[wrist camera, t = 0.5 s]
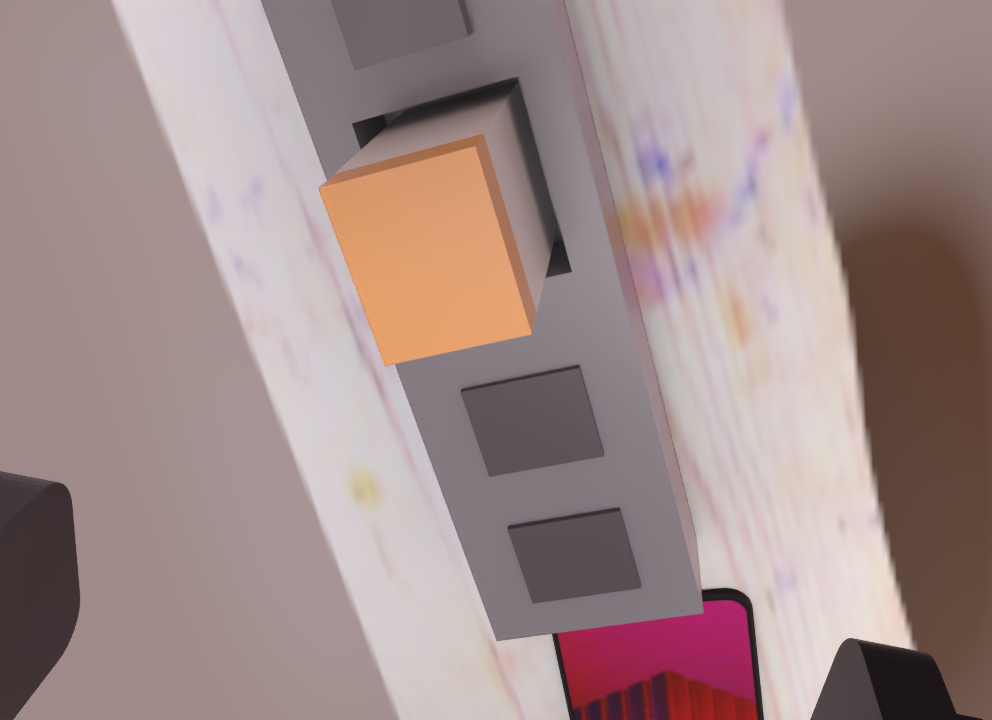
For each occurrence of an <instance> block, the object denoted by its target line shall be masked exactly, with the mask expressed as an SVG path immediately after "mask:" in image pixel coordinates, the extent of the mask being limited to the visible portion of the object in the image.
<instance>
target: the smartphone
mask: <svg viewBox="0 0 992 720" xmlns="http://www.w3.org/2000/svg"><path fill="white" fill-rule="evenodd" d="M702 600H703V610H704V613H702V614H695V615H687V616H680V617H672V618H665V619H658V620H650V621H643V622H635V623H628V624H620V625H613V626H606V627H598V628H591V629H583V630H576V631H568V632H561V633H553V634H552V636H553V641H554V646H555V650H556V655H557V660H558V665H559V669H560V674H561V679H562V684H563V688H564V693H565V698H566V703H567V707H568V712H569V717H570V720H764V716H763V706H762V696H761V686H760V676H759V666H758V657H757V647H756V637H755V627H754V617H753V608H752V604H751V601H750V600H749V598H748V597H747V596H746V595H745V594H743V593H742V592H740V591H738V590H734V589H728V588H722V589H711V590H704V591H702Z"/></svg>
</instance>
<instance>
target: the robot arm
mask: <svg viewBox="0 0 992 720" xmlns="http://www.w3.org/2000/svg"><path fill="white" fill-rule="evenodd" d="M79 606H80V589H79V579H78V566H77V554H76V544H75V531H74V520H73V508H72V500H71V496H70V492H69V490H68V489H67V487H66V486H65V485H64V484H61V483H58V482H53V481H48V480H43V479H38V478H32V477H27V476H22V475H17V474H11V473H6V472H1V471H0V720H13V719H14V718H15V717H16V715H17V714H18V713H19V711H20V710H21V709H22V707H23V706H24V705H25V704H26V702H27V701H28V700H29V698H30V697H31V695H32V694H33V693H34V692H35V690H36V689H37V688H38V686H39V685H40V684H41V683H42V681H43V680H44V679H45V677H46V676H47V675H48V673H49V672H50V671H51V669H52V668H53V667H54V666H55V664H56V663H57V662H58V660H59V659H60V658H61V656H62V655H63V653H64V651H65V649H66V648H67V646H68V644H69V642H70V639H71V637H72V634H73V632H74V629H75V626H76V622H77V618H78V614H79V608H80V607H79ZM810 720H982V719H980V718H974V717H969V716H964V715H959V714H957V713H956V711H955V709H954V706H953V703H952V701H951V698H950V696H949V694H948V691H947V689H946V686H945V683H944V681H943V678H942V676H941V673H940V671H939V669H938V666H937V664H936V662H935V660H934V659H933V658H932V657H931V656H930V655H929V654H928V653H925V652H920V651H915V650H910V649H905V648H900V647H895V646H889V645H884V644H879V643H874V642H869V641H864V640H858V639H853V638H848V639H846V640H845V641H844V642H843V643H842V644H841V646H840V647H839V649H838V651H837V654H836V656H835V658H834V661H833V664H832V666H831V669H830V671H829V674H828V676H827V679H826V681H825V684H824V686H823V689H822V692H821V694H820V697H819V699H818V702H817V704H816V707H815V709H814V712H813V714H812V717H811V719H810Z"/></svg>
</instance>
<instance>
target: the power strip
mask: <svg viewBox="0 0 992 720" xmlns="http://www.w3.org/2000/svg"><path fill="white" fill-rule="evenodd" d="M261 2H262V5H263V8H264V10H265V13H266V16H267V18H268V21H269V24H270V27H271V29H272V32H273V35H274V37H275V40H276V43H277V46H278V48H279V51H280V54H281V56H282V59H283V62H284V65H285V67H286V70H287V73H288V75H289V78H290V81H291V84H292V86H293V89H294V92H295V94H296V97H297V100H298V103H299V105H300V108H301V111H302V113H303V116H304V119H305V122H306V124H307V127H308V130H309V132H310V135H311V138H312V141H313V143H314V146H315V149H316V151H317V154H318V157H319V160H320V162H321V165H322V168H323V170H324V173H325V176H326V179H327V180H328V179H329V178H330V177H331V176H332V175H334V174H335V173H336V172H337V171H338V170H339V169H340V168H341V167H342V166H344V165H345V164H346V163H347V162H348V161H349V160H350V159H351V158H352V157H354V156H355V155H356V154H357V153H358V152H359V151H360V150H361V149H362V148H363V147H365V146H366V145H367V144H368V143H369V142H370V141H371V140H372V139H373V138H375V137H376V136H377V135H378V134H379V133H380V132H381V131H382V130H383V129H385V128H386V127H387V126H388V125H389V124H390V123H391V122H392V121H393V120H394V119H396V118H397V117H398V116H399V115H400V114H402V113H406V112H409V111H413V110H416V109H420V108H423V107H427V106H430V105H434V104H438V103H441V102H445V101H448V100H452V99H455V98H459V97H462V96H466V95H469V94H473V93H476V92H480V91H484V90H487V89H491V88H494V87H498V86H501V85H505V84H508V83H512V82H515V81H518V82H519V86H520V89H521V93H522V97H523V100H524V104H525V107H526V111H527V115H528V118H529V122H530V126H531V129H532V133H533V137H534V140H535V144H536V148H537V151H538V155H539V159H540V162H541V166H542V169H543V173H544V177H545V180H546V184H547V188H548V191H549V195H550V199H551V202H552V206H553V210H554V213H555V217H556V221H557V224H558V227H557V231H556V235H555V240H554V244H553V248H552V252H551V256H550V260H549V265H548V269H547V273H546V277H545V281H544V285H543V290H542V294H541V298H540V302H539V306H538V310H537V315H536V319H535V323H534V327H533V331H532V334H531V335H526V336H522V337H517V338H512V339H508V340H503V341H499V342H494V343H489V344H485V345H480V346H475V347H471V348H466V349H461V350H457V351H452V352H447V353H443V354H438V355H433V356H429V357H424V358H419V359H415V360H410V361H405V362H401V363H396V364H395V366H396V368H397V371H398V374H399V377H400V379H401V382H402V385H403V387H404V390H405V393H406V396H407V398H408V401H409V404H410V406H411V409H412V412H413V415H414V417H415V420H416V423H417V425H418V428H419V431H420V434H421V436H422V439H423V442H424V444H425V447H426V450H427V453H428V455H429V458H430V461H431V463H432V466H433V469H434V472H435V474H436V477H437V480H438V482H439V485H440V488H441V491H442V493H443V496H444V499H445V501H446V504H447V507H448V510H449V512H450V515H451V518H452V520H453V523H454V526H455V529H456V531H457V534H458V537H459V539H460V542H461V545H462V548H463V550H464V553H465V556H466V558H467V561H468V564H469V566H470V569H471V572H472V575H473V577H474V580H475V583H476V585H477V588H478V591H479V594H480V596H481V599H482V602H483V604H484V607H485V610H486V613H487V615H488V618H489V621H490V623H491V626H492V629H493V632H494V634H495V637H496V640H497V641H501V640H509V639H516V638H524V637H531V636H539V635H546V634H553V633H561V632H568V631H576V630H583V629H591V628H598V627H606V626H613V625H620V624H628V623H635V622H643V621H650V620H658V619H665V618H672V617H680V616H687V615H695V614H702V613H704V610H703V600H702V589H701V579H700V568H699V558H698V548H697V538H696V534H695V530H694V526H693V522H692V518H691V513H690V509H689V505H688V501H687V497H686V493H685V489H684V485H683V481H682V477H681V473H680V469H679V465H678V461H677V457H676V453H675V449H674V445H673V441H672V436H671V432H670V428H669V424H668V420H667V416H666V412H665V408H664V404H663V400H662V396H661V392H660V388H659V384H658V380H657V376H656V372H655V368H654V364H653V360H652V355H651V351H650V347H649V343H648V339H647V335H646V331H645V327H644V323H643V319H642V315H641V311H640V307H639V303H638V299H637V295H636V291H635V287H634V283H633V279H632V274H631V270H630V266H629V262H628V258H627V254H626V250H625V246H624V242H623V238H622V234H621V230H620V226H619V222H618V218H617V214H616V210H615V206H614V202H613V197H612V193H611V189H610V185H609V181H608V177H607V173H606V169H605V165H604V161H603V157H602V153H601V149H600V145H599V141H598V137H597V133H596V129H595V125H594V121H593V116H592V112H591V108H590V104H589V100H588V96H587V92H586V88H585V84H584V80H583V76H582V72H581V68H580V64H579V60H578V56H577V52H576V48H575V44H574V40H573V35H572V31H571V27H570V23H569V19H568V15H567V11H566V7H565V3H564V0H261Z"/></svg>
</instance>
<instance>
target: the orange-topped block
mask: <svg viewBox="0 0 992 720" xmlns="http://www.w3.org/2000/svg"><path fill="white" fill-rule="evenodd" d="M318 189H319V191H320V194H321V197H322V199H323V202H324V205H325V207H326V210H327V213H328V215H329V218H330V221H331V223H332V226H333V229H334V231H335V234H336V237H337V239H338V242H339V245H340V247H341V250H342V253H343V255H344V258H345V261H346V263H347V266H348V269H349V272H350V274H351V277H352V280H353V282H354V285H355V288H356V290H357V293H358V296H359V298H360V301H361V304H362V306H363V309H364V312H365V314H366V317H367V320H368V322H369V325H370V328H371V330H372V333H373V336H374V338H375V341H376V344H377V346H378V349H379V352H380V354H381V357H382V360H383V362H384V365H385V366H387V365H391V364H396V363H401V362H405V361H410V360H415V359H419V358H424V357H429V356H433V355H438V354H443V353H447V352H452V351H457V350H461V349H466V348H471V347H475V346H480V345H485V344H489V343H494V342H499V341H503V340H508V339H512V338H517V337H522V336H526V335H531V334H532V331H533V327H534V323H535V319H536V315H537V310H538V306H539V302H540V298H541V294H542V290H543V285H544V281H545V277H546V273H547V269H548V265H549V260H550V256H551V252H552V248H553V244H554V240H555V235H556V231H557V227H558V224H557V221H556V217H555V213H554V210H553V206H552V202H551V199H550V195H549V191H548V188H547V184H546V180H545V177H544V173H543V169H542V166H541V162H540V159H539V155H538V151H537V148H536V144H535V140H534V137H533V133H532V129H531V126H530V122H529V118H528V115H527V111H526V107H525V104H524V100H523V97H522V93H521V89H520V86H519V82H518V81H515V82H512V83H508V84H505V85H501V86H498V87H494V88H491V89H487V90H484V91H480V92H476V93H473V94H469V95H466V96H462V97H459V98H455V99H452V100H448V101H445V102H441V103H438V104H434V105H430V106H427V107H423V108H420V109H416V110H413V111H409V112H406V113H402V114H400V115H399V116H398V117H397V118H396V119H394V120H393V121H392V122H391V123H390V124H389V125H388V126H387V127H386V128H385V129H383V130H382V131H381V132H380V133H379V134H378V135H377V136H376V137H375V138H373V139H372V140H371V141H370V142H369V143H368V144H367V145H366V146H365V147H363V148H362V149H361V150H360V151H359V152H358V153H357V154H356V155H355V156H354V157H352V158H351V159H350V160H349V161H348V162H347V163H346V164H345V165H344V166H342V167H341V168H340V169H339V170H338V171H337V172H336V173H335V174H334V175H332V176H331V177H330V178H329V179H328V180H327V181H326V182H325V183H324V184H323V185H321V186H320V187H319V188H318Z"/></svg>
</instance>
